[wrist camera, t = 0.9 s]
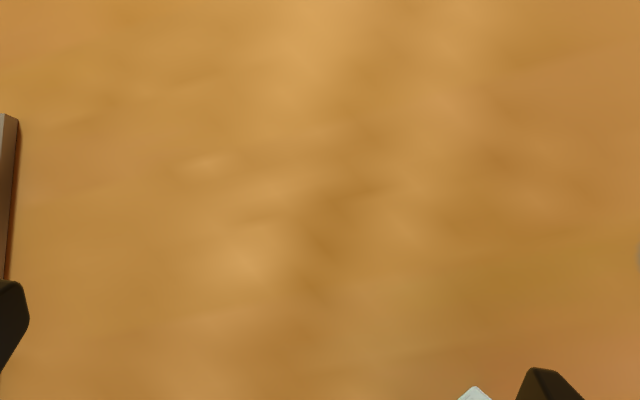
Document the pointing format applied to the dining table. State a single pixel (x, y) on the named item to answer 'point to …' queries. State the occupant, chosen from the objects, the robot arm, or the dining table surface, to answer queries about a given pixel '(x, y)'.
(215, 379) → the dining table surface
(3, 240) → the jig
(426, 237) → the dining table surface
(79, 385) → the dining table surface
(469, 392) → the skincare box
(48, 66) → the dining table surface
